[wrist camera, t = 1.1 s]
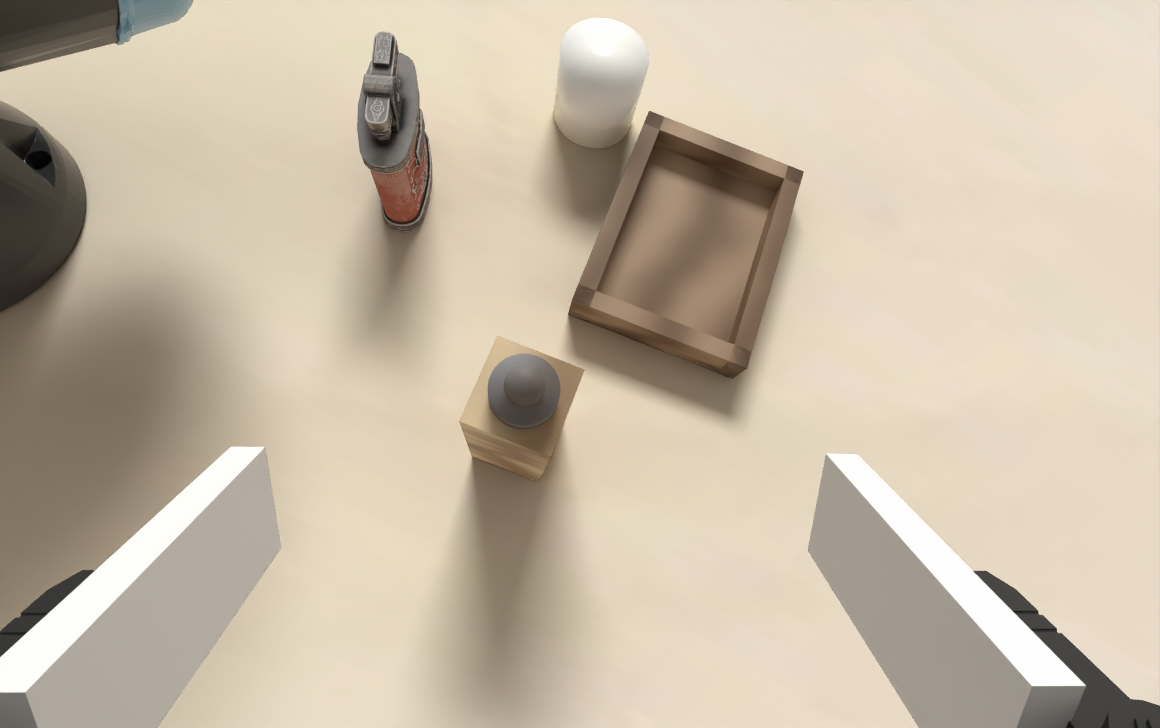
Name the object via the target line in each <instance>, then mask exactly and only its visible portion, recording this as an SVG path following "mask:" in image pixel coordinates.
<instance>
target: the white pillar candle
mask: <svg viewBox="0 0 1160 728" xmlns="http://www.w3.org/2000/svg"><path fill="white" fill-rule="evenodd" d="M648 65H649V53H648V49H647V46H646V44H645V42H644V41H643V39H642V38H641V37H640V35H639V34H638V33H637V32H636V31H634V30H633V29H632V28H630V27H629V26H627V25H625V24H623V23H621V22H619V21H616V20H612V19H607V18H591V19H586V20H583V21H581V22H578V23H576V24H575V25H573V26H572V27H571V28H570V29H569V30H568V31H567V32H566V33H565V35H564V37H563V39H562V42H561V47H560V56H559V65H558V74H557V83H556V91H555V100H554V110H553V114H554V120H555V123H556V125H557V127H558V129H559V130H560V131H561V133H562V134H563V135H564V136H565V137H566V138H568V139H569V140H570V141H572V142H574V143H576V144H578V145H580V146H583V147H588V148H605V147H609V146H612V145H614V144H616V143H618V142H619V141H621V140H622V139H623V138H624V137H625V136H626V134H627V133H628V131H629V129H630V126H631V122H632V119H633V116H634V112H635V109H636V106H637V102H638V99H639V96H640V92H641V89H642V86H643V82H644V79H645V75H646V72H647V69H648Z"/></svg>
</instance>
